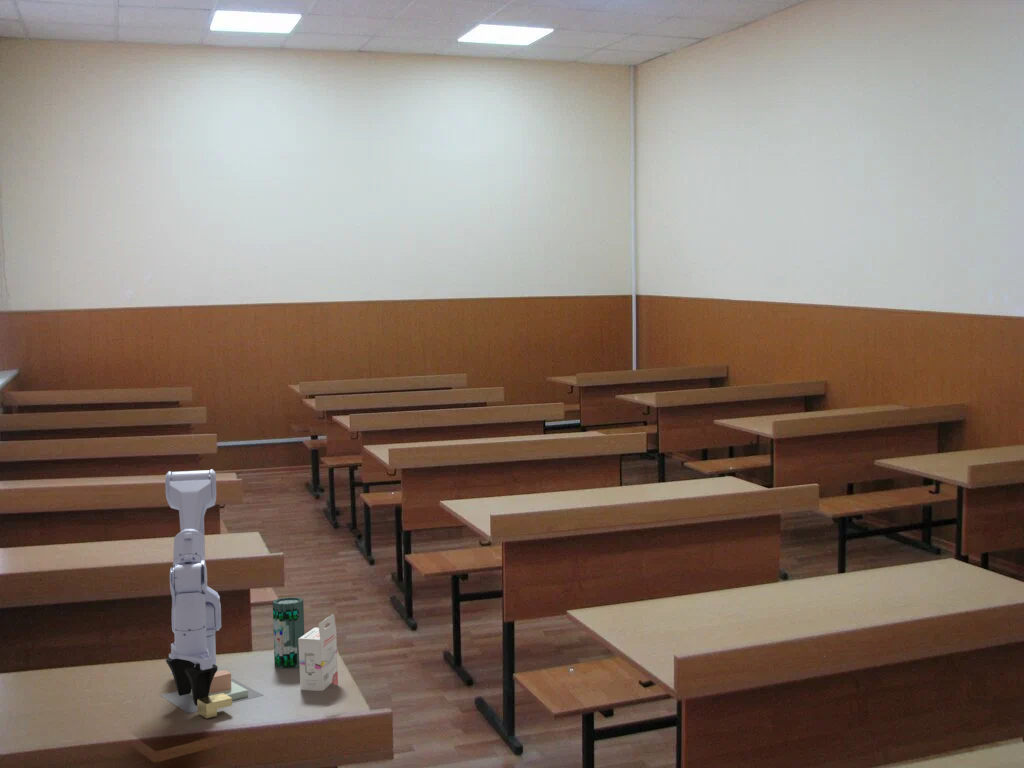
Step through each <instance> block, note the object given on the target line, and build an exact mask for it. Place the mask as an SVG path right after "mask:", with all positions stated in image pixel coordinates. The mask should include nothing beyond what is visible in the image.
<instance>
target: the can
mask: <svg viewBox="0 0 1024 768" xmlns="http://www.w3.org/2000/svg"><path fill="white" fill-rule="evenodd" d="M304 605H305V604H304V599H303V598H301V597H297V596H296V597H290V596H289V597H281V598H275V599H274V600H273V601H272V623H273V625H272V628H273V658H274V666H275V668H279V669H287V670H288V669H293V668H295V669H296V668H298V669H300V666H299V644H298V639H299V638H300V637H302V636H303V635H305V614H304V613H305V612H304V611H305V609H304V607H305V606H304Z"/></svg>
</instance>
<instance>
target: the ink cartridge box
mask: <svg viewBox="0 0 1024 768" xmlns="http://www.w3.org/2000/svg"><path fill="white" fill-rule="evenodd" d="M328 624H329V625H328ZM326 625H328V626H327V627H326ZM337 643H338V640H337V627H336V618H335V614H334V613H332V614H331V615H329V616H328V617H326V618H325V619H324V620H322V621H320V622H319V623H318V627H313V628H312V629H310V630H309V631H308V632H306V633H304V635H303V636H302V637H300V638H299V639H298V644H299V666H300V668H299V681H300V682H299V685H300V686H299V689H300V690H301V691H317V692H318V691H319V692H320V691H321V692H322V691H324V690H326V689H327V688H328V687H330V685H331V684H333V685H335V686H338V685H339V679H338V677H339V673H338V644H337Z"/></svg>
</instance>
